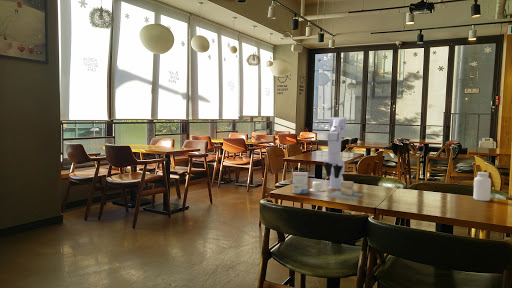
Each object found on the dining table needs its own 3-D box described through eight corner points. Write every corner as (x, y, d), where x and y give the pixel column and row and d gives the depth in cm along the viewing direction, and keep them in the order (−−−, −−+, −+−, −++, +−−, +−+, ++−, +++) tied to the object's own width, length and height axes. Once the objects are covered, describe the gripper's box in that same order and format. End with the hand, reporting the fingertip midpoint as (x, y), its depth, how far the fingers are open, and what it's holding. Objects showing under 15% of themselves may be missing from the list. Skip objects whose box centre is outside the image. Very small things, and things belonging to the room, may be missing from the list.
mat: (336, 191, 228) (336, 190, 228) (363, 194, 220) (363, 193, 220) (324, 197, 211) (324, 196, 211) (354, 201, 203) (354, 200, 203)
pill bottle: (487, 198, 215) (489, 172, 214) (491, 201, 207) (493, 173, 206) (471, 197, 217) (473, 171, 216) (474, 200, 210) (476, 173, 209)
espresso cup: (312, 188, 237) (313, 180, 237) (326, 190, 233) (327, 182, 232) (307, 191, 229) (307, 182, 229) (321, 192, 225) (321, 184, 225)
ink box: (307, 192, 226) (307, 171, 225) (307, 193, 221) (307, 173, 220) (292, 191, 227) (292, 171, 226) (292, 193, 222) (292, 172, 221)
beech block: (342, 192, 222) (343, 180, 222) (353, 194, 219) (353, 181, 219) (340, 194, 219) (341, 181, 218) (351, 195, 216) (351, 182, 215)
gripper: (319, 152, 222) (319, 175, 223) (335, 154, 209) (334, 179, 210) (330, 151, 225) (329, 174, 226) (345, 154, 212) (344, 178, 213)
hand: (332, 177), depth 218 cm, fingers open, 7 cm apart
